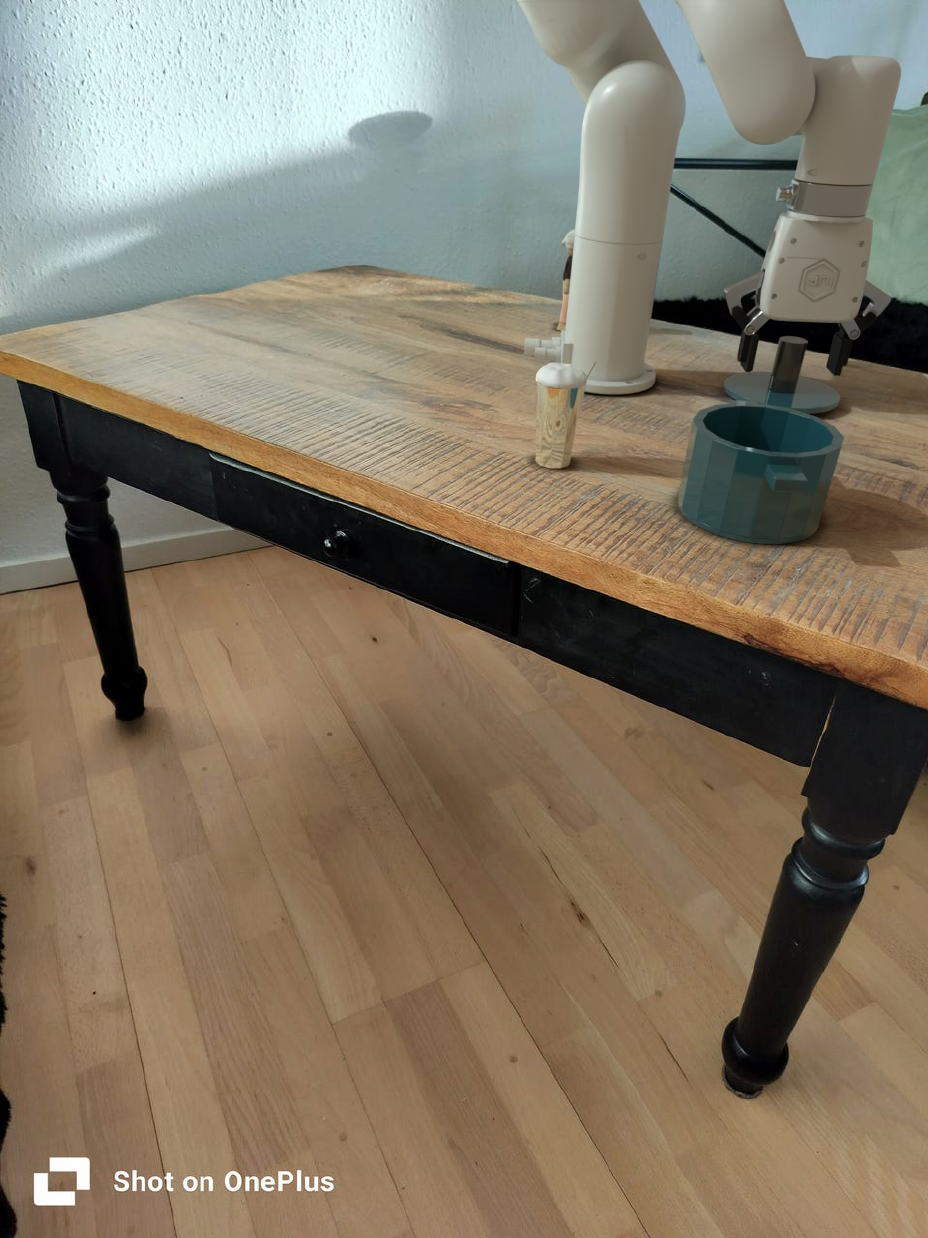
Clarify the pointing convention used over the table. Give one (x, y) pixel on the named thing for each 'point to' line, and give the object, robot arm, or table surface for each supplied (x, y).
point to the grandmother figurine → (566, 278)
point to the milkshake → (558, 412)
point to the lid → (784, 382)
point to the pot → (758, 472)
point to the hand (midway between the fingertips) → (789, 370)
